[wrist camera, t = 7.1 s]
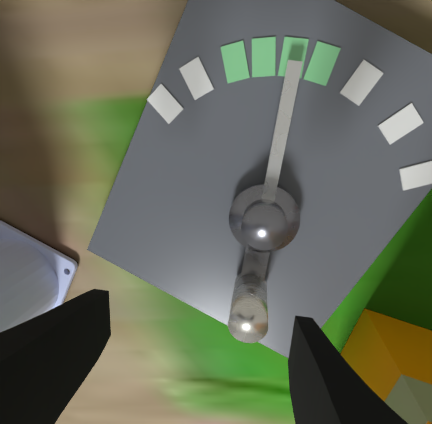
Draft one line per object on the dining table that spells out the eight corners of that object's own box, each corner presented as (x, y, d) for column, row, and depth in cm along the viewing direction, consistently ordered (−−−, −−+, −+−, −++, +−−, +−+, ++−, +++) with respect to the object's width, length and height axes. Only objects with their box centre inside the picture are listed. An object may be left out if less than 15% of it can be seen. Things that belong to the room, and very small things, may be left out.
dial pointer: (279, 303, 19) (284, 350, 15) (217, 290, 19) (206, 333, 15) (334, 68, 15) (360, 48, 11) (254, 58, 15) (252, 35, 11)
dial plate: (291, 337, 23) (295, 363, 20) (104, 236, 23) (85, 249, 20) (472, 99, 17) (508, 95, 14) (220, -39, 17) (213, -68, 14)
